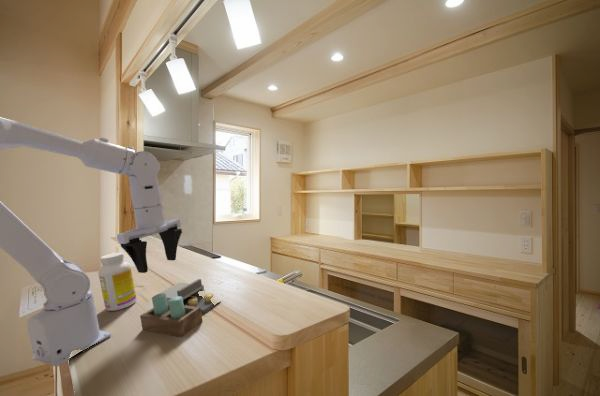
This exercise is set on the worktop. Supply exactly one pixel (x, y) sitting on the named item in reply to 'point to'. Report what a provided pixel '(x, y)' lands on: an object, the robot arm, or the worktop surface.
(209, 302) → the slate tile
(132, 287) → the supplement bottle
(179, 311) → the pin loose
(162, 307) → the pin seated
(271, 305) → the worktop surface
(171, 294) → the housing
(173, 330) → the socket strip
